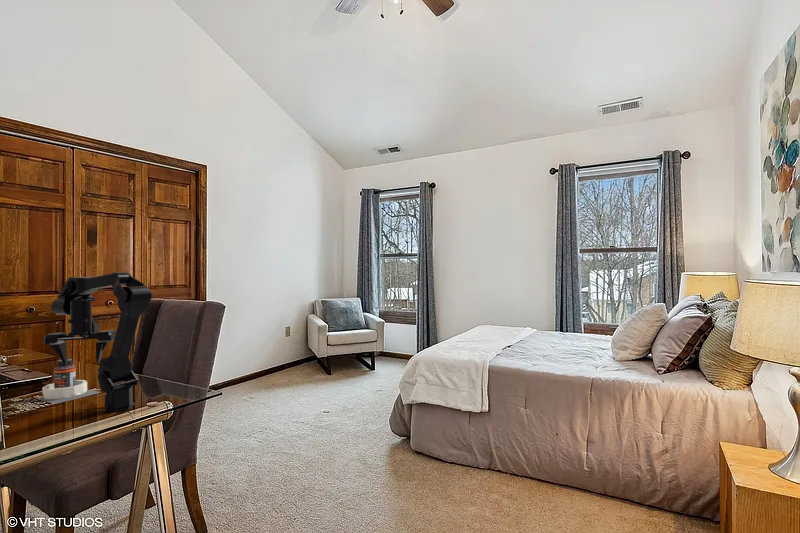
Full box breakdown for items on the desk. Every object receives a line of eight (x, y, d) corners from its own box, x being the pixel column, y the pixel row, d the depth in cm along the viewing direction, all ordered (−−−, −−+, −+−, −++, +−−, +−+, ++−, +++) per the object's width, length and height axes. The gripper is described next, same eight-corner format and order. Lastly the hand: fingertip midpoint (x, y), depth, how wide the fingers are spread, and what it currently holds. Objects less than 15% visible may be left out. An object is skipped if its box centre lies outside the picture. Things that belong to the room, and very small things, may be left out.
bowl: (92, 388, 158) (92, 378, 158) (77, 397, 147) (77, 387, 147) (54, 391, 155) (54, 381, 155) (35, 401, 144) (35, 390, 144)
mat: (101, 393, 153) (101, 392, 153) (55, 404, 141) (55, 403, 141) (74, 387, 162) (74, 386, 162) (28, 398, 149) (28, 397, 149)
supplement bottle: (50, 395, 147) (49, 362, 147) (60, 390, 153) (59, 358, 153) (70, 394, 149) (69, 360, 149) (79, 389, 154) (78, 357, 154)
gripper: (122, 311, 152) (123, 356, 152) (60, 314, 148) (61, 360, 147) (109, 315, 141) (110, 363, 141) (42, 317, 137) (43, 367, 137)
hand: (82, 363), depth 142 cm, fingers open, 9 cm apart
